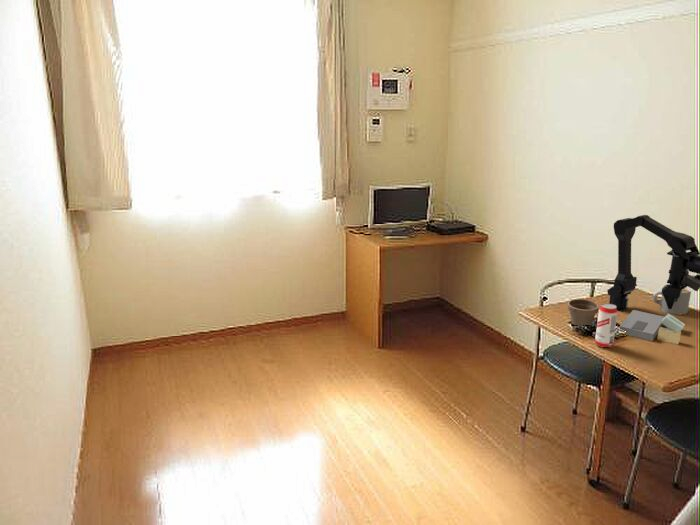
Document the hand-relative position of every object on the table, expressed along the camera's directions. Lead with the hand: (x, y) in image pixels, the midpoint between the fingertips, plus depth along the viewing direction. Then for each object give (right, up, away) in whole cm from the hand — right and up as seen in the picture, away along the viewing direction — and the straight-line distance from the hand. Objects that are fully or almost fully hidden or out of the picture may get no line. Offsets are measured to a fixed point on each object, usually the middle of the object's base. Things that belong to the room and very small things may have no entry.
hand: (672, 305), depth 211 cm
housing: (-11, -10, +3) cm, 14 cm away
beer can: (-32, -15, -10) cm, 36 cm away
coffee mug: (+10, -4, +20) cm, 22 cm away
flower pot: (-34, -10, +6) cm, 36 cm away
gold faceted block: (-6, -13, -8) cm, 16 cm away
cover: (0, -8, 0) cm, 8 cm away
